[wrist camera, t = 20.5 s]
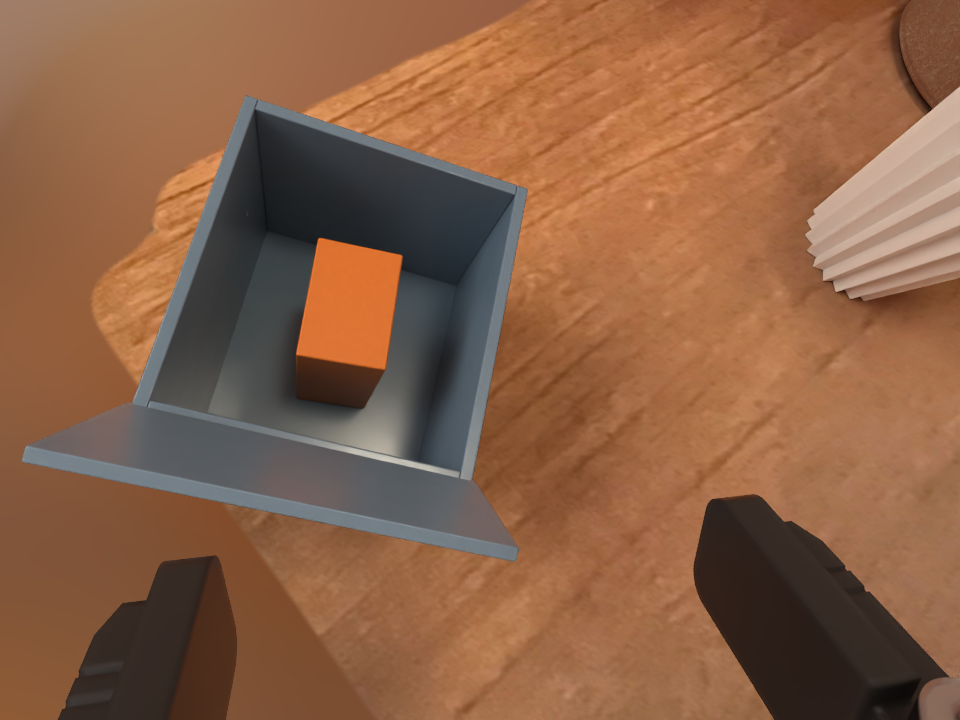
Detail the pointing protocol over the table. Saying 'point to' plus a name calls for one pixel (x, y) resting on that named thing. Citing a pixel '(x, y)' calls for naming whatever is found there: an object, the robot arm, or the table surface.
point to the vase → (896, 214)
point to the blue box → (286, 276)
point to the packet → (346, 323)
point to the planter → (932, 47)
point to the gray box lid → (277, 477)
